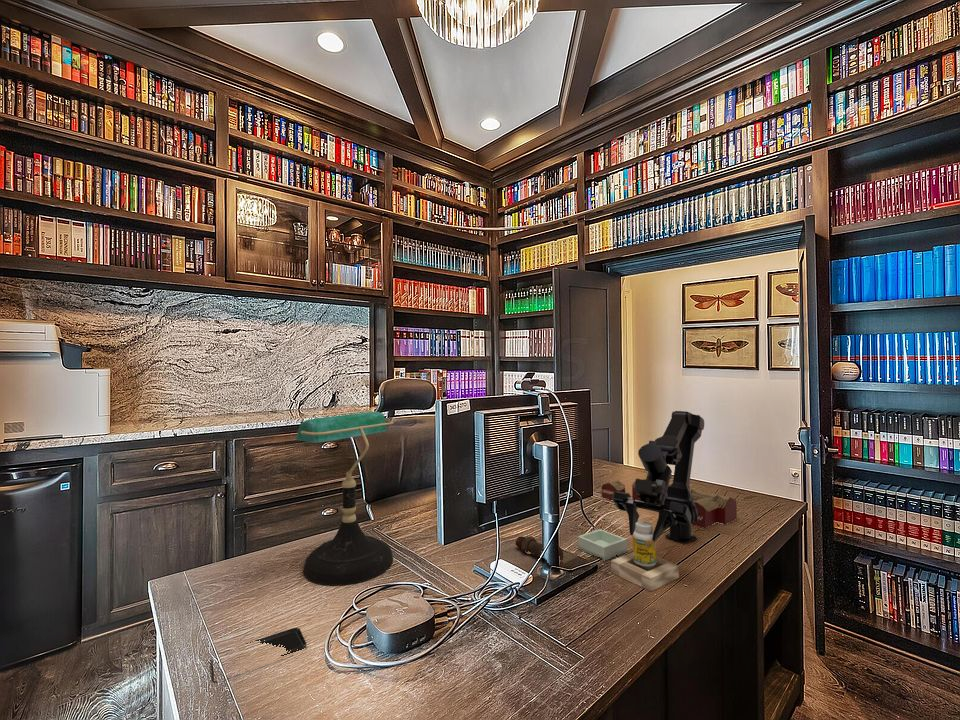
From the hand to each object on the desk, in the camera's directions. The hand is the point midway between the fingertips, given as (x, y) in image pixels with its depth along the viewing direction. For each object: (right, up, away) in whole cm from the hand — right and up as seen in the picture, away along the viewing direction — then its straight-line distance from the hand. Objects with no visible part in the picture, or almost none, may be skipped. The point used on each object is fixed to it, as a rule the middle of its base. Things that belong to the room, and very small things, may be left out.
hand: (642, 537), depth 108 cm
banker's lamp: (-75, -11, +8) cm, 77 cm away
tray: (-5, -10, +16) cm, 20 cm away
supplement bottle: (+1, -7, +1) cm, 7 cm away
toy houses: (+27, -11, +52) cm, 60 cm away
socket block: (+1, -10, +1) cm, 10 cm away
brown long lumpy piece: (-24, -11, +12) cm, 29 cm away
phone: (-81, -11, -28) cm, 86 cm away
